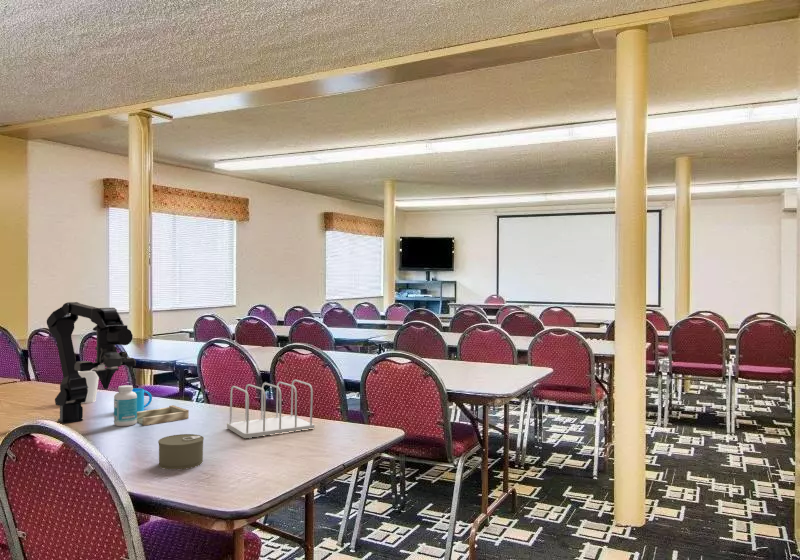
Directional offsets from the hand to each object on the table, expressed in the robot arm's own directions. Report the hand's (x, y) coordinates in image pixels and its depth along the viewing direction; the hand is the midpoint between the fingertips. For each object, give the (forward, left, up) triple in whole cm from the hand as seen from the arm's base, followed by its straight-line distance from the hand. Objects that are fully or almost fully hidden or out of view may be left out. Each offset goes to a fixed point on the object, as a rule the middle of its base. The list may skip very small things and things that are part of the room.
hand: (105, 389), depth 218 cm
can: (-1, -59, -14) cm, 60 cm away
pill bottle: (+7, -1, -13) cm, 15 cm away
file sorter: (+40, -42, -14) cm, 59 cm away
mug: (+20, +20, -14) cm, 31 cm away
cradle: (+18, -1, -13) cm, 22 cm away
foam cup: (+12, +51, -13) cm, 54 cm away
